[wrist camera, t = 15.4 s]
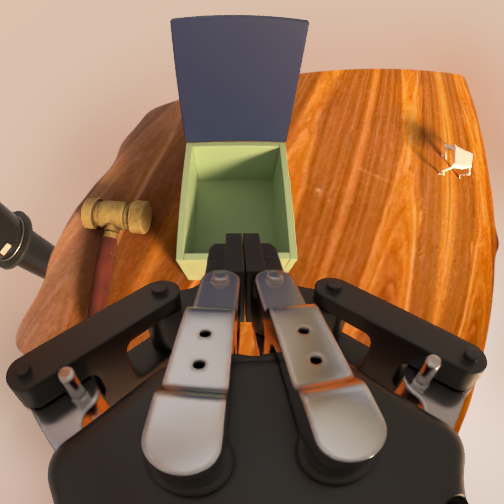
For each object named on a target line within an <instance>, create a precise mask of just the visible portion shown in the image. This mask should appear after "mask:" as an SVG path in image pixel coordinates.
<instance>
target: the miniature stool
mask: <svg viewBox="0 0 504 504" xmlns="http://www.w3.org/2000/svg"><path fill="white" fill-rule="evenodd" d="M446 148H448V149H450V150H452V151H454V160H453V165H452V167H449V168H446V169H443V170H442V173H438V174H439V175H445V173H444V172H446V171H448V170H451V169H453V168H457V169H467V168H469V173H465V174H460V175H470V168H471V167H472V158H473V154H472V153H470V152H467V151H465V150H463V149H461V148H459V147H457V146H456V145H455V144H454V146H451V145H448V144H445V156H444V155H443V154H441V156H442V157H444V158H445V159H446V160H447V149H446ZM459 178H460V176H459Z"/></svg>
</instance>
